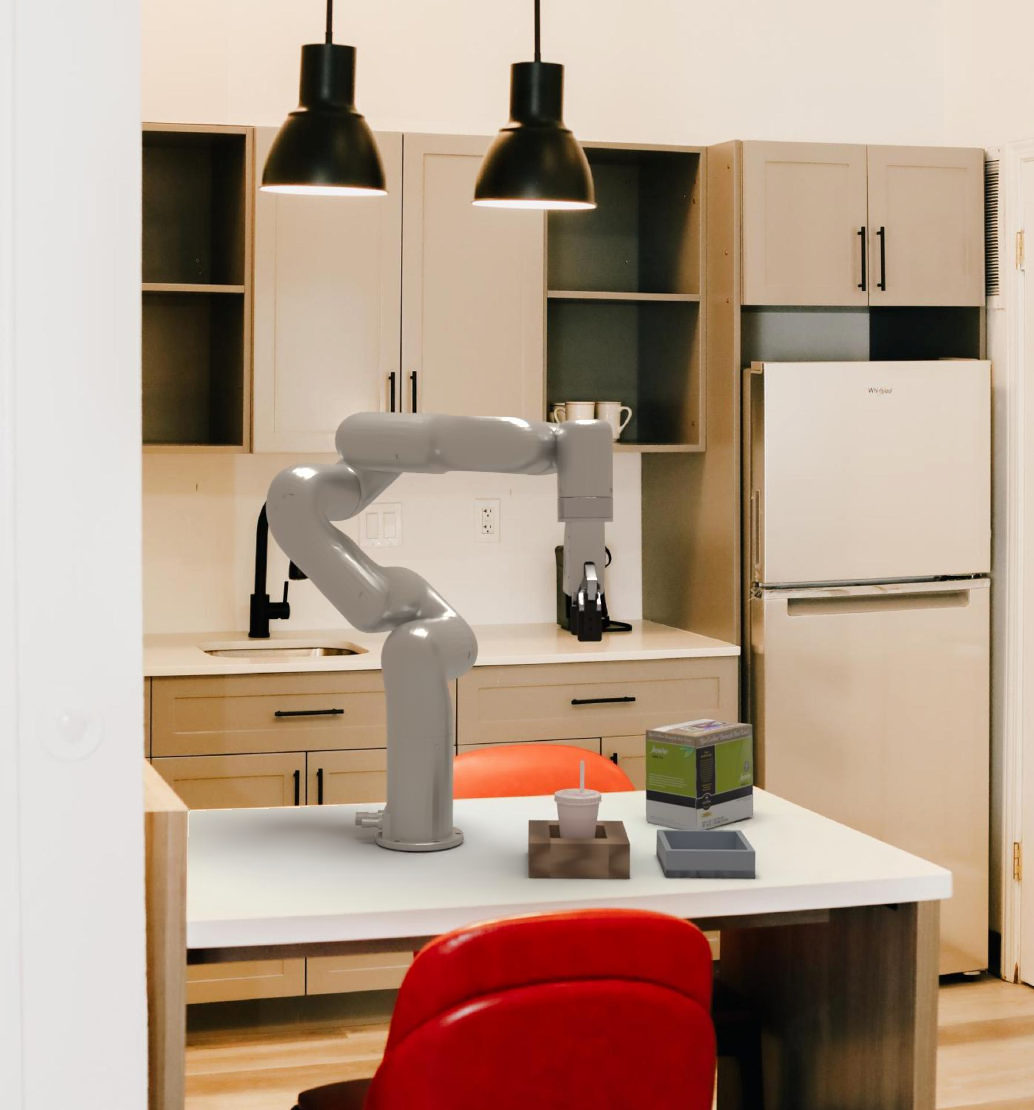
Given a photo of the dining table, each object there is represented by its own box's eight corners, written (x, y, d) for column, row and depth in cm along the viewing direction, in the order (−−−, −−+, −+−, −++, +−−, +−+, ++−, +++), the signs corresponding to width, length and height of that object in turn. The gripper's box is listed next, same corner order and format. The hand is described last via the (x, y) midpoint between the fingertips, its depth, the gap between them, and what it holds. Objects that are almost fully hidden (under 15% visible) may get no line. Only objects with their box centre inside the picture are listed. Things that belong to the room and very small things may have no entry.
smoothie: (597, 872, 176) (598, 766, 176) (549, 869, 178) (550, 764, 177) (604, 860, 183) (605, 757, 182) (557, 857, 184) (558, 755, 183)
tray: (665, 877, 174) (665, 850, 174) (656, 854, 186) (656, 829, 186) (755, 878, 174) (755, 851, 174) (740, 855, 186) (740, 830, 186)
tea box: (702, 807, 216) (703, 716, 216) (754, 818, 209) (756, 723, 209) (643, 822, 205) (644, 726, 205) (696, 834, 198) (697, 734, 198)
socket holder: (529, 877, 174) (529, 843, 174) (528, 852, 187) (528, 820, 187) (629, 878, 174) (630, 844, 174) (621, 853, 187) (622, 820, 187)
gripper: (552, 512, 190) (553, 633, 190) (562, 511, 173) (563, 644, 173) (605, 511, 190) (606, 632, 191) (621, 510, 173) (621, 643, 173)
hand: (585, 638), depth 182 cm, fingers open, 9 cm apart
